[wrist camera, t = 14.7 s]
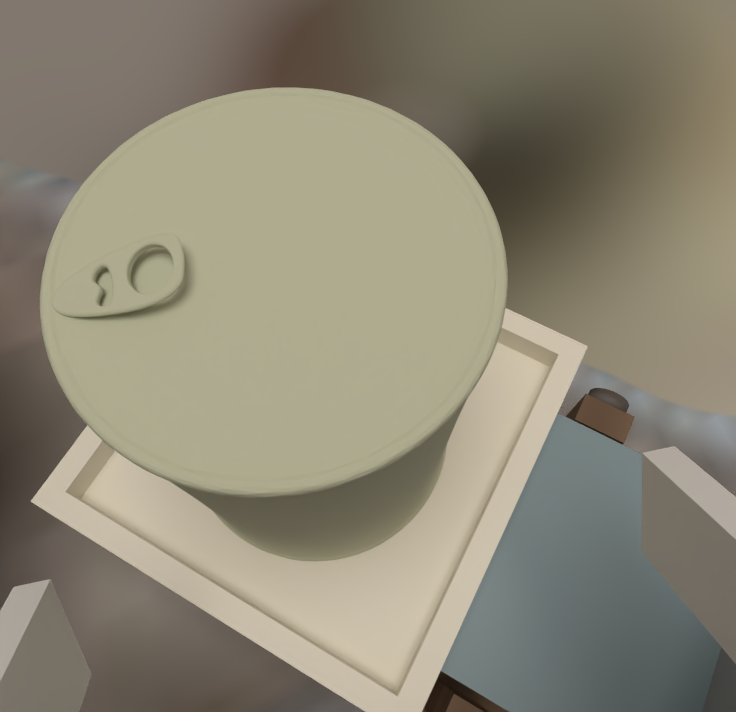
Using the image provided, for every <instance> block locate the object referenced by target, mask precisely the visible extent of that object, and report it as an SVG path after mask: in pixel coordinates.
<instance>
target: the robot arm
mask: <svg viewBox="0 0 736 712" xmlns="http://www.w3.org/2000/svg"><path fill="white" fill-rule="evenodd" d="M642 553H643V554H644V555H645V556H646V557H647V559H648V560H649V561H650V562H651V563H652V565H653V566H654V567H655V568H656V569H657V571H658V572H659V573H660V574H661V575H662V577H663V578H664V579H665V580H666V581H667V583H668V584H669V585H670V586H671V587H672V589H673V590H674V591H675V592H676V593H677V595H678V596H679V597H680V598H681V599H682V600H683V602H684V603H685V604H686V605H687V606H688V608H689V609H690V610H691V611H692V612H693V614H694V615H695V616H696V617H697V618H698V620H699V621H700V622H701V623H702V624H703V626H704V627H705V628H706V629H707V630H708V632H709V633H710V634H711V635H712V636H713V638H714V639H715V640H716V641H717V642H718V644H719V645H720V646H721V647H722V648H723V650H724V651H725V652H726V653H727V654H728V656H729V657H730V658H731V659H732V660H733V661H734V663H735V664H736V497H735V496H734V495H733V494H731V493H730V492H729V491H728V490H727V489H725V488H724V487H723V486H722V485H721V484H719V483H718V482H717V481H716V480H715V479H713V478H712V477H711V476H710V475H709V474H707V473H706V472H705V471H704V470H702V469H701V468H700V467H699V466H698V465H696V464H695V463H694V462H693V461H692V460H690V459H689V458H688V457H687V456H686V455H684V454H683V453H682V452H681V451H680V450H678V449H677V448H676V447H675V446H673V447H668V448H664V449H659V450H654V451H650V452H645V453H642ZM91 676H92V674H91V672H90V669H89V667H88V665H87V662H86V660H85V658H84V655H83V653H82V651H81V648H80V646H79V644H78V642H77V639H76V637H75V635H74V632H73V630H72V628H71V625H70V623H69V621H68V618H67V616H66V614H65V611H64V609H63V607H62V604H61V602H60V600H59V597H58V595H57V593H56V590H55V588H54V586H53V584H52V581H51V579H48V580H44V581H39V582H34V583H30V584H25V585H20V586H16V587H13V589H12V591H11V592H10V594H9V596H8V598H7V600H6V601H5V603H4V605H3V607H2V609H1V610H0V712H80V709H81V706H82V703H83V700H84V697H85V694H86V691H87V688H88V685H89V682H90V679H91Z"/></svg>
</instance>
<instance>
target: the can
mask: <svg viewBox="0 0 736 712" xmlns="http://www.w3.org/2000/svg"><path fill="white" fill-rule="evenodd" d="M507 275H508V273H507V263H506V253H505V248H504V245H503V240H502V235H501V231H500V228H499V224H498V222H497V219H496V216H495V214H494V211H493V209H492V207H491V205H490V203H489V201H488V199H487V197H486V195H485V193H484V191H483V190H482V188H481V187H480V185H479V184H478V182H477V181H476V179H475V178H474V176H473V175H472V173H471V172H470V171H469V170H468V168H467V167H466V166H465V165H464V163H463V162H462V161H461V160H460V159H459V158H458V157H457V156H456V155H455V154H454V152H453V151H452V150H450V149H449V148H448V147H447V146H446V145H445V144H444V143H443V142H441V141H440V140H439V139H438V138H437V137H435V136H434V135H433V134H431V133H430V132H429V131H427V130H426V129H425V128H423V127H422V126H420V125H419V124H417V123H416V122H414V121H412V120H410V119H408V118H406V117H404V116H403V115H401V114H399V113H397V112H395V111H393V110H391V109H389V108H386V107H384V106H381V105H378V104H376V103H374V102H371V101H368V100H365V99H362V98H358V97H355V96H351V95H346V94H342V93H337V92H332V91H327V90H319V89H307V88H267V89H257V90H248V91H242V92H236V93H232V94H228V95H224V96H220V97H216V98H212V99H208V100H206V101H203V102H200V103H197V104H194V105H191V106H189V107H186V108H184V109H182V110H179V111H177V112H175V113H172V114H170V115H167V116H166V117H164V118H162V119H160V120H159V121H157V122H155V123H153V124H152V125H150V126H148V127H146V128H145V129H143V130H141V131H140V132H138V133H137V134H136V135H134V136H133V137H131V138H130V139H129V140H127V141H126V142H125V143H123V144H122V145H121V146H119V147H118V148H117V149H116V150H115V151H114V152H113V153H112V154H111V155H110V156H108V157H107V158H106V159H105V160H104V161H103V162H102V163H101V164H100V165H99V166H98V167H97V168H96V169H95V171H94V172H93V173H92V174H91V175H90V176H89V177H88V178H87V179H86V181H85V182H84V183H83V184H82V186H81V187H80V188H79V190H78V191H77V193H76V194H75V196H74V197H73V198H72V200H71V201H70V203H69V205H68V207H67V208H66V210H65V212H64V214H63V215H62V217H61V219H60V221H59V224H58V226H57V228H56V231H55V233H54V236H53V238H52V241H51V244H50V246H49V249H48V252H47V256H46V260H45V265H44V270H43V274H42V282H41V291H40V316H41V327H42V333H43V340H44V344H45V348H46V351H47V355H48V359H49V362H50V364H51V366H52V369H53V371H54V374H55V376H56V379H57V381H58V383H59V385H60V387H61V389H62V391H63V392H64V394H65V395H66V397H67V399H68V400H69V402H70V403H71V405H72V406H73V408H74V410H75V411H76V412H77V413H78V415H79V416H80V417H81V418H82V419H83V420H84V422H85V423H86V424H87V425H88V426H89V427H90V429H91V430H92V431H93V432H94V433H95V434H96V435H97V436H99V437H100V438H101V439H102V440H103V441H104V442H105V443H106V444H107V445H108V446H110V447H111V448H112V449H114V450H115V451H116V452H118V453H119V454H120V455H122V456H123V457H125V458H126V459H128V460H129V461H131V462H132V463H134V464H136V465H137V466H139V467H141V468H142V469H144V470H146V471H147V472H150V473H152V474H154V475H156V476H158V477H161V478H163V479H165V480H168V481H170V482H171V483H173V484H174V485H176V486H177V487H179V488H180V489H182V490H183V491H185V492H186V493H188V494H189V495H191V496H192V497H194V498H195V499H197V500H198V501H200V502H201V503H202V504H204V505H205V506H207V507H208V508H209V509H211V510H212V511H213V512H214V513H215V514H216V515H217V517H218V518H219V519H220V520H221V521H222V522H223V523H224V524H225V525H226V526H227V527H228V528H229V529H230V530H231V531H232V532H233V533H235V534H236V535H237V536H239V537H240V538H241V539H243V540H244V541H246V542H248V543H249V544H251V545H253V546H254V547H256V548H258V549H260V550H263V551H265V552H268V553H271V554H274V555H277V556H280V557H284V558H288V559H293V560H300V561H329V560H337V559H342V558H346V557H350V556H354V555H357V554H360V553H362V552H365V551H367V550H370V549H372V548H374V547H376V546H378V545H380V544H382V543H383V542H385V541H386V540H388V539H389V538H391V537H393V536H394V535H395V534H396V533H398V532H399V531H400V530H402V529H403V528H404V527H405V526H406V525H407V524H408V523H409V522H410V521H411V520H412V519H413V518H414V517H415V516H416V515H417V514H418V512H419V511H420V510H421V509H422V507H423V506H424V504H425V503H426V501H427V500H428V498H429V497H430V495H431V493H432V491H433V489H434V487H435V485H436V483H437V481H438V478H439V476H440V473H441V470H442V467H443V463H444V459H445V454H446V447H447V443H448V440H449V438H450V436H451V433H452V431H453V429H454V426H455V424H456V422H457V419H458V417H459V415H460V413H461V411H462V409H463V406H464V404H465V402H466V400H467V398H468V396H469V395H470V394H471V392H472V391H473V389H474V388H475V386H476V385H477V383H478V381H479V380H480V378H481V376H482V375H483V373H484V371H485V369H486V367H487V365H488V363H489V361H490V359H491V356H492V354H493V352H494V349H495V347H496V344H497V341H498V338H499V335H500V331H501V328H502V324H503V319H504V314H505V308H506V299H507Z"/></svg>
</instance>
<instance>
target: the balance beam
mask: <svg viewBox="0 0 736 712" xmlns="http://www.w3.org/2000/svg"><path fill="white" fill-rule="evenodd" d="M586 349H587V346H586V345H584V344H582V343H580V342H577V341H575V340H573V339H571V338H569V337H567V336H564V335H562V334H560V333H558V332H556V331H554V330H551V329H549V328H547V327H545V326H543V325H541V324H539V323H537V322H534V321H532V320H530V319H528V318H526V317H524V316H521V315H519V314H517V313H515V312H513V311H511V310H509V309H506V308H505V314H504V319H503V324H502V328H501V331H500V335H499V338H498V341H497V344H496V347H495V349H494V352H493V354H492V356H491V359H490V361H489V363H488V365H487V367H486V369H485V371H484V373H483V375H482V376H481V378H480V380H479V381H478V383H477V385H476V386H475V388H474V389H473V391H472V392H471V394H470V395H469V396H468V398H467V400H466V402H465V404H464V406H463V409H462V411H461V413H460V415H459V417H458V419H457V422H456V424H455V426H454V429H453V431H452V433H451V436H450V438H449V440H448V443H447V447H446V454H445V459H444V463H443V467H442V470H441V473H440V476H439V478H438V481H437V483H436V485H435V487H434V489H433V491H432V493H431V495H430V497H429V498H428V500H427V501H426V503H425V504H424V506H423V507H422V509H421V510H420V511H419V512H418V514H417V515H416V516H415V517H414V518H413V519H412V520H411V521H410V522H409V523H408V524H407V525H406V526H405V527H404V528H403V529H402V530H400V531H399V532H398V533H396V534H395V535H394V536H393V537H391V538H389V539H388V540H386V541H385V542H383V543H382V544H380V545H378V546H376V547H374V548H372V549H370V550H367V551H365V552H362V553H360V554H357V555H354V556H350V557H346V558H342V559H337V560H329V561H300V560H293V559H288V558H284V557H280V556H277V555H274V554H271V553H268V552H265V551H263V550H260V549H258V548H256V547H254V546H253V545H251V544H249V543H248V542H246V541H244V540H243V539H241V538H240V537H239V536H237V535H236V534H235V533H233V532H232V531H231V530H230V529H229V528H228V527H227V526H226V525H225V524H224V523H223V522H222V521H221V520H220V519H219V518H218V517H217V515H216V514H215V513H214V512H213V511H212V510H211V509H209V508H208V507H207V506H205V505H204V504H202V503H201V502H200V501H198V500H197V499H195V498H194V497H192V496H191V495H189V494H188V493H186V492H185V491H183V490H182V489H180V488H179V487H177V486H176V485H174V484H173V483H171V482H170V481H168V480H165V479H163V478H161V477H158V476H156V475H154V474H152V473H150V472H147V471H146V470H144V469H142V468H141V467H139V466H137V465H136V464H134V463H132V462H131V461H129V460H128V459H126V458H125V457H123V456H122V455H120V454H119V453H118V452H116V451H115V450H114V449H112V448H111V447H110V446H108V445H107V444H106V443H105V442H104V441H103V440H102V439H101V438H100V437H99V436H97V435H96V434H95V433H94V432H93V431H92V430H91V429H90V427H89V426H88V425H87V427H86V428H85V429H84V431H83V432H82V433H81V435H80V436H79V437H78V439H77V440H76V441H75V443H74V444H73V445H72V447H71V448H70V449H69V451H68V452H67V453H66V455H65V456H64V457H63V459H62V460H61V461H60V463H59V464H58V465H57V467H56V468H55V469H54V471H53V472H52V473H51V475H50V476H49V477H48V479H47V480H46V481H45V483H44V484H43V485H42V487H41V488H40V489H39V491H38V492H37V493H36V495H35V496H34V497H33V499H32V500H31V502H32V503H34V504H35V505H37V506H39V507H40V508H42V509H43V510H45V511H46V512H48V513H50V514H51V515H53V516H54V517H56V518H58V519H59V520H61V521H62V522H64V523H66V524H67V525H69V526H70V527H72V528H74V529H75V530H77V531H78V532H80V533H81V534H83V535H85V536H86V537H88V538H89V539H91V540H93V541H94V542H96V543H97V544H99V545H101V546H102V547H104V548H105V549H107V550H109V551H110V552H112V553H113V554H115V555H117V556H118V557H120V558H121V559H123V560H124V561H126V562H128V563H129V564H131V565H132V566H134V567H136V568H137V569H139V570H140V571H142V572H144V573H145V574H147V575H148V576H150V577H152V578H153V579H155V580H156V581H158V582H160V583H161V584H163V585H164V586H166V587H167V588H169V589H171V590H172V591H174V592H175V593H177V594H179V595H180V596H182V597H183V598H185V599H187V600H188V601H190V602H191V603H193V604H195V605H196V606H198V607H199V608H201V609H202V610H204V611H206V612H207V613H209V614H210V615H212V616H214V617H215V618H217V619H218V620H220V621H222V622H223V623H225V624H226V625H228V626H230V627H231V628H233V629H234V630H236V631H238V632H239V633H241V634H242V635H244V636H245V637H247V638H249V639H250V640H252V641H253V642H255V643H257V644H258V645H260V646H261V647H263V648H265V649H266V650H268V651H269V652H271V653H273V654H274V655H276V656H277V657H279V658H281V659H282V660H284V661H285V662H287V663H288V664H290V665H292V666H293V667H295V668H296V669H298V670H300V671H301V672H303V673H304V674H306V675H308V676H309V677H311V678H312V679H314V680H316V681H317V682H319V683H320V684H322V685H323V686H325V687H327V688H328V689H330V690H331V691H333V692H335V693H336V694H338V695H339V696H341V697H343V698H344V699H346V700H347V701H349V702H351V703H352V704H354V705H355V706H357V707H359V708H360V709H362V710H363V711H365V712H422V711H423V708H424V706H425V704H426V702H427V700H428V697H429V695H430V693H431V691H432V689H433V686H434V684H435V682H436V680H437V678H438V675H439V673H440V671H442V672H443V673H445V674H447V675H449V676H450V677H452V678H454V679H455V680H457V681H459V682H460V683H462V684H464V685H465V686H467V687H469V688H470V689H472V690H474V691H475V692H477V693H479V694H480V695H482V696H484V697H485V698H487V699H489V700H490V701H492V702H494V703H495V704H497V705H499V706H500V707H502V708H504V709H505V710H507V711H509V712H736V664H735V663H734V661H733V660H732V659H731V658H730V657H729V656H728V654H727V653H726V652H725V651H724V650H723V648H722V647H721V646H720V645H719V644H718V642H717V641H716V640H715V639H714V638H713V636H712V635H711V634H710V633H709V632H708V630H707V629H706V628H705V627H704V626H703V624H702V623H701V622H700V621H699V620H698V618H697V617H696V616H695V615H694V614H693V612H692V611H691V610H690V609H689V608H688V606H687V605H686V604H685V603H684V602H683V600H682V599H681V598H680V597H679V596H678V595H677V593H676V592H675V591H674V590H673V589H672V587H671V586H670V585H669V584H668V583H667V581H666V580H665V579H664V578H663V577H662V575H661V574H660V573H659V572H658V571H657V569H656V568H655V567H654V566H653V565H652V563H651V562H650V561H649V560H648V559H647V557H646V556H645V555H644V554H643V553H642V454H641V453H638V452H636V451H634V450H632V449H630V448H628V447H626V446H624V445H622V444H620V443H618V442H616V441H614V440H612V439H610V438H608V437H606V436H604V435H602V434H600V433H598V432H596V431H594V430H592V429H590V428H588V427H586V426H584V425H582V424H579V423H577V422H575V421H573V420H571V419H569V418H567V417H565V416H563V415H561V414H559V413H558V411H559V409H560V406H561V404H562V402H563V400H564V398H565V395H566V393H567V391H568V389H569V387H570V384H571V382H572V380H573V378H574V376H575V373H576V371H577V369H578V367H579V365H580V362H581V360H582V358H583V356H584V353H585V351H586Z"/></svg>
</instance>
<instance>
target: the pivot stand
mask: <svg viewBox="0 0 736 712" xmlns="http://www.w3.org/2000/svg"><path fill="white" fill-rule="evenodd" d="M628 407H629V404H628V402H627V400H626V399H625V398H624V397H622V396H621V395H619V394H617V393H615V392H613V391H610V390H607V389H602V388H594V389H591V390H590V391H589V394H585V396H584V397H583V398H582V399H581V400H580V401H579V402H578V403H577V405H576V406H575V407H574V408H573V409H572V410H571V411H570V412H569V414H568V415H567V416H566V417H567V418H569V419H571V420H573V421H575V422H577V423H579V424H582V425H584V426H586V427H588V428H590V429H592V430H594V431H596V432H598V433H600V434H602V435H604V436H606V437H608V438H610V439H612V440H614V441H616V442H618V443H620V444H624V442H625V440H626V437H627V435H628V432H629V430H630V427H631V425H632V422H633V420H634V416H632V415H630V414H628V413H626V412H627V409H628ZM422 712H509V711H507V710H505V709H504V708H502V707H500V706H499V705H497V704H495V703H494V702H492V701H490V700H489V699H487V698H485V697H484V696H482V695H480V694H479V693H477V692H475V691H474V690H472V689H470V688H469V687H467V686H465V685H464V684H462V683H460V682H459V681H457V680H455V679H454V678H452V677H450V676H449V675H447V674H445V673H443V672H442V671H440V673H439V675H438V678H437V680H436V682H435V684H434V686H433V689H432V691H431V693H430V695H429V697H428V700H427V702H426V704H425V706H424V708H423V711H422Z"/></svg>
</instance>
